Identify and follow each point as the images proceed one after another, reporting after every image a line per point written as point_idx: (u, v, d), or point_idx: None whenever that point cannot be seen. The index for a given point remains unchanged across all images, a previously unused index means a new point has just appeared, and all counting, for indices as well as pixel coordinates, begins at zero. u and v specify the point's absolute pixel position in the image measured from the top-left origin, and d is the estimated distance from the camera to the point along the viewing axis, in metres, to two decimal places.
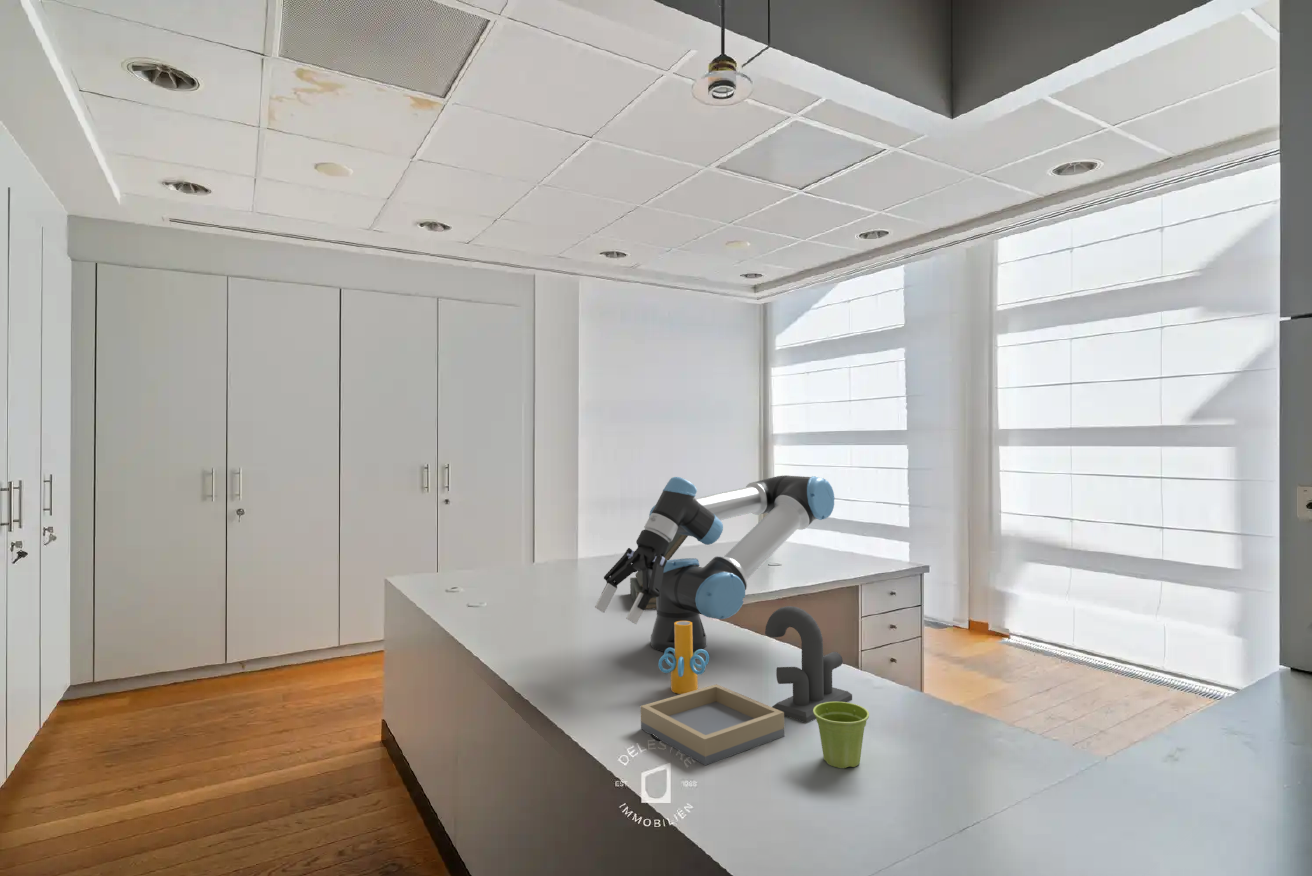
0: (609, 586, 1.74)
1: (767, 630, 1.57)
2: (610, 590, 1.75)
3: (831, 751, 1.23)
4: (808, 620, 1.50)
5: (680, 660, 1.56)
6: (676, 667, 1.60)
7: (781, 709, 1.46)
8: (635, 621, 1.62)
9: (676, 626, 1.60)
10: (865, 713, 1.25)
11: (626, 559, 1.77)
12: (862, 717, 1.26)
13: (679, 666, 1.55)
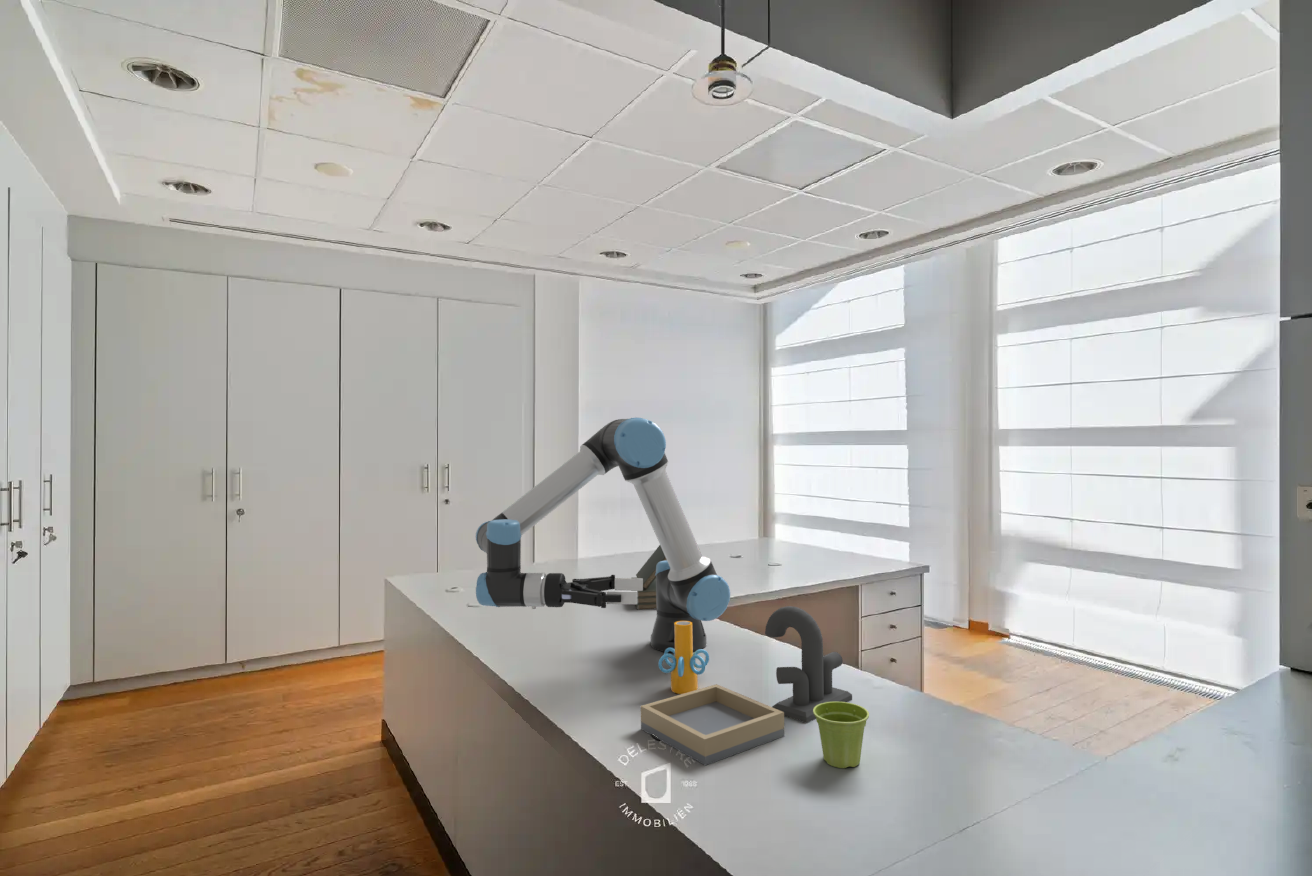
0: (617, 588, 1.68)
1: (767, 630, 1.57)
2: (619, 585, 1.68)
3: (831, 751, 1.23)
4: (808, 620, 1.50)
5: (680, 660, 1.56)
6: (676, 667, 1.60)
7: (781, 709, 1.46)
8: (634, 594, 1.55)
9: (676, 626, 1.60)
10: (865, 713, 1.25)
11: None
12: (862, 717, 1.26)
13: (679, 666, 1.55)
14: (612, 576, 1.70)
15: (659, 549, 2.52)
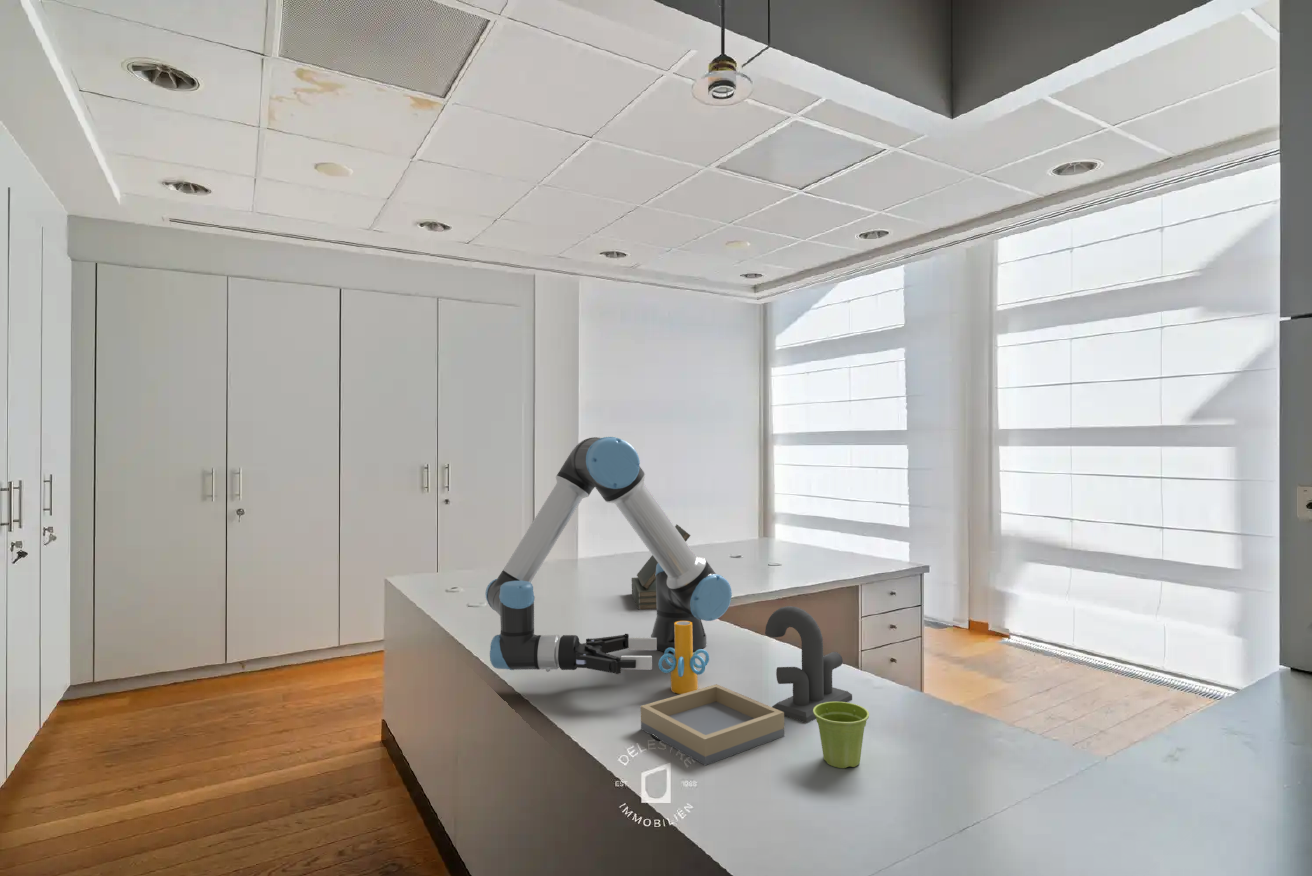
0: (630, 648, 1.68)
1: (767, 630, 1.57)
2: (633, 644, 1.68)
3: (831, 751, 1.23)
4: (808, 620, 1.50)
5: (680, 660, 1.56)
6: (676, 667, 1.60)
7: (781, 709, 1.46)
8: (649, 659, 1.54)
9: (676, 626, 1.60)
10: (865, 713, 1.25)
11: None
12: (862, 717, 1.26)
13: (679, 666, 1.55)
14: (626, 635, 1.69)
15: None
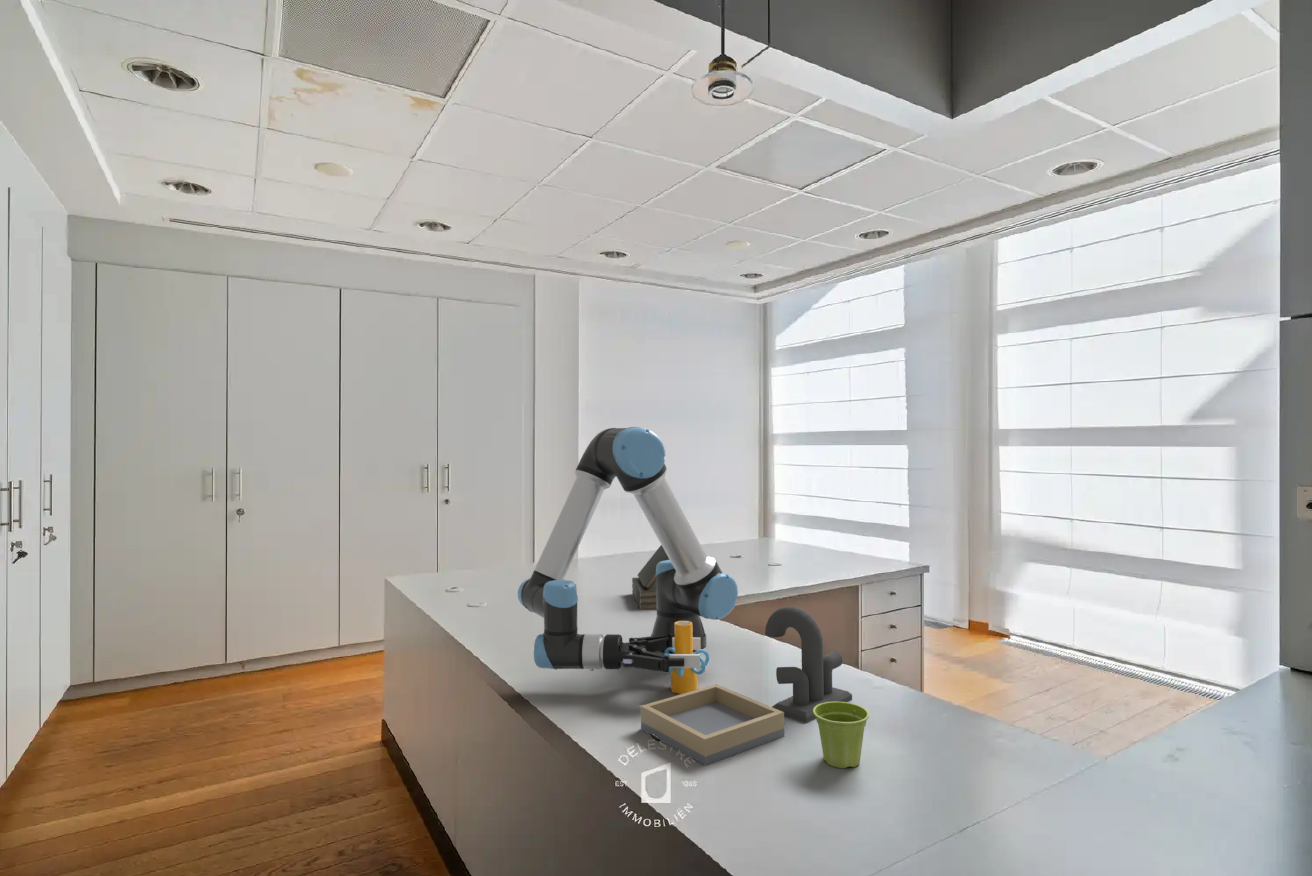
0: (674, 648, 1.67)
1: (767, 630, 1.57)
2: None
3: (831, 751, 1.23)
4: (808, 620, 1.50)
5: None
6: None
7: (781, 709, 1.46)
8: (697, 658, 1.54)
9: (676, 626, 1.60)
10: (865, 713, 1.25)
11: None
12: (862, 717, 1.26)
13: None
14: (669, 635, 1.69)
15: (661, 549, 2.52)
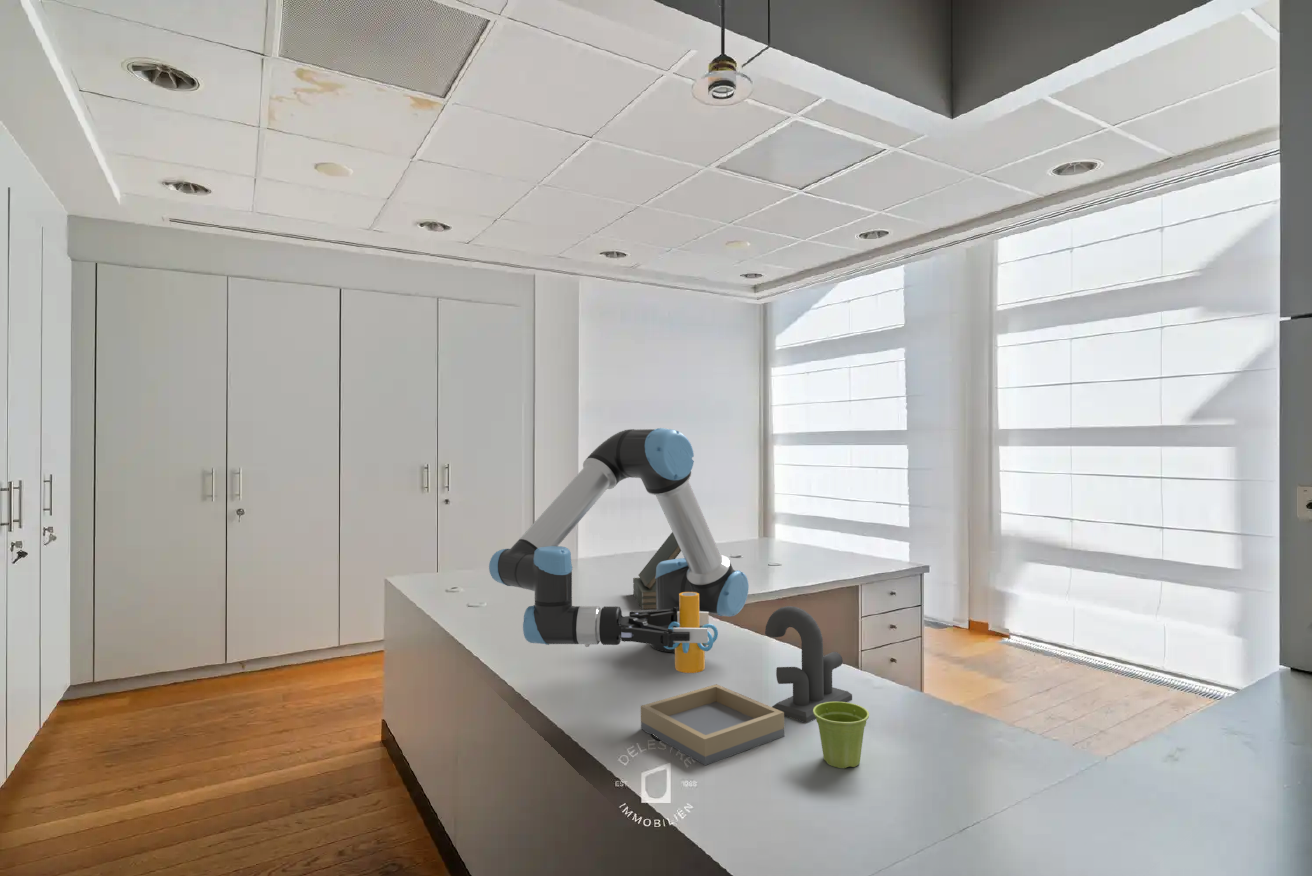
0: None
1: (767, 630, 1.57)
2: None
3: (831, 751, 1.23)
4: (808, 620, 1.50)
5: None
6: (681, 643, 1.43)
7: (781, 709, 1.46)
8: (705, 632, 1.37)
9: (681, 597, 1.43)
10: (865, 713, 1.25)
11: None
12: (862, 717, 1.26)
13: None
14: (674, 609, 1.52)
15: (662, 549, 2.52)
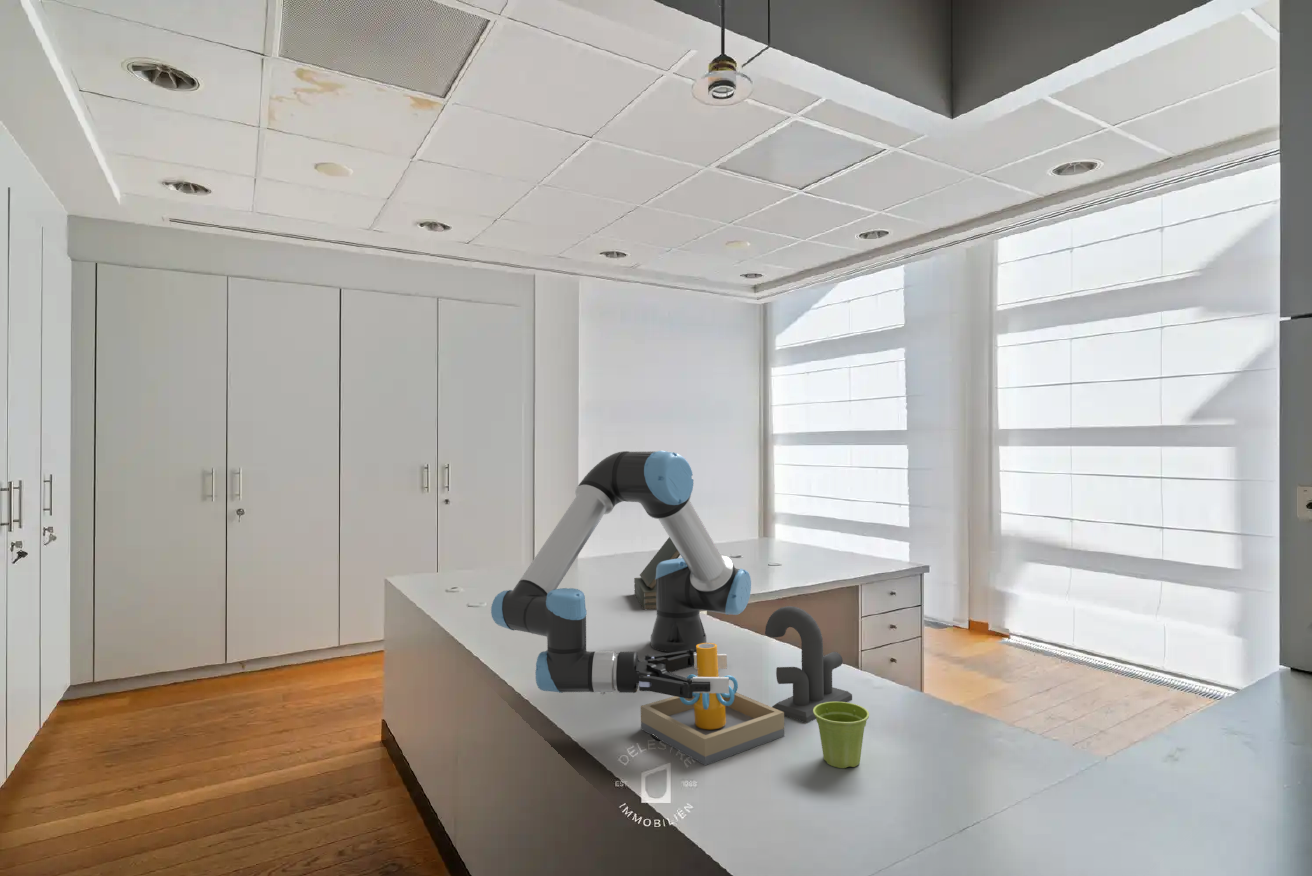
0: None
1: (767, 630, 1.57)
2: None
3: (831, 751, 1.23)
4: (808, 620, 1.50)
5: None
6: (700, 698, 1.37)
7: (781, 709, 1.46)
8: (726, 681, 1.31)
9: (698, 650, 1.37)
10: (865, 713, 1.25)
11: None
12: (862, 717, 1.26)
13: (704, 697, 1.32)
14: (690, 651, 1.46)
15: (663, 549, 2.52)
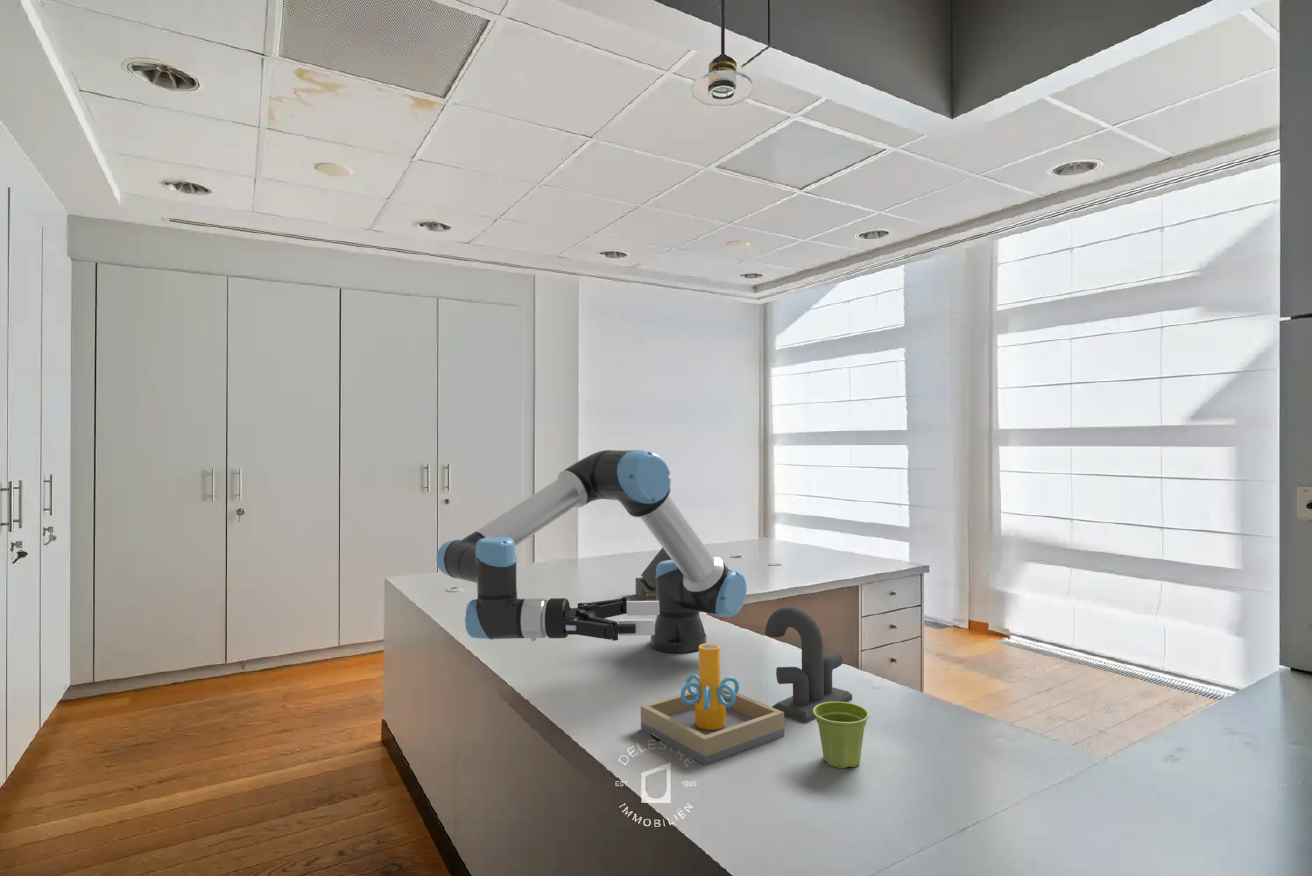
0: (629, 613, 1.45)
1: (767, 630, 1.57)
2: (632, 609, 1.45)
3: (831, 751, 1.23)
4: (808, 620, 1.50)
5: (706, 690, 1.33)
6: (701, 698, 1.37)
7: (781, 709, 1.46)
8: (651, 623, 1.31)
9: (701, 650, 1.37)
10: (865, 713, 1.25)
11: None
12: (862, 717, 1.26)
13: (705, 698, 1.32)
14: (623, 599, 1.47)
15: None
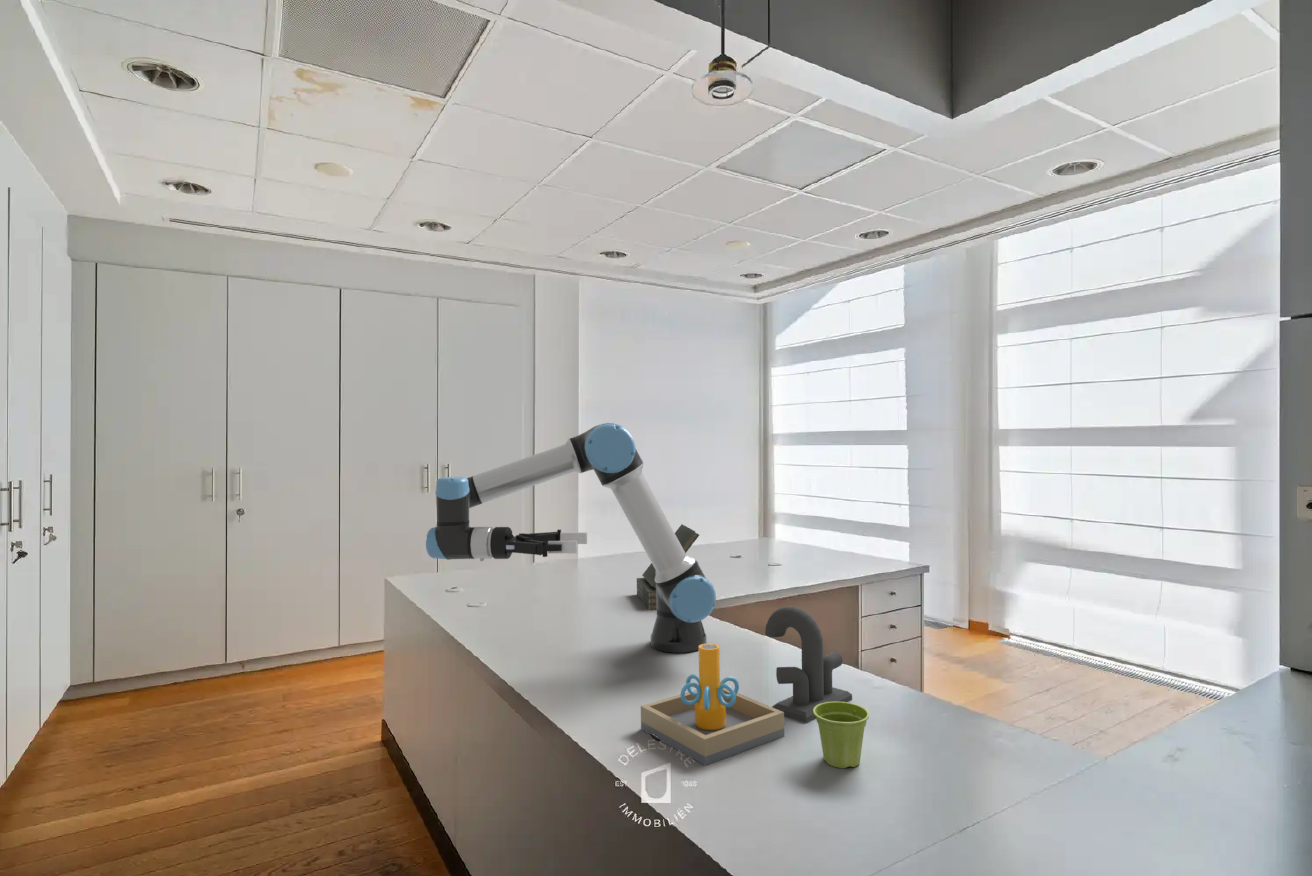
0: None
1: (767, 630, 1.57)
2: (565, 538, 1.77)
3: (831, 751, 1.23)
4: (808, 620, 1.50)
5: (706, 691, 1.33)
6: (701, 698, 1.37)
7: (781, 709, 1.46)
8: (574, 543, 1.63)
9: (701, 650, 1.37)
10: (865, 713, 1.25)
11: None
12: (862, 717, 1.26)
13: (705, 698, 1.32)
14: (558, 531, 1.78)
15: None
